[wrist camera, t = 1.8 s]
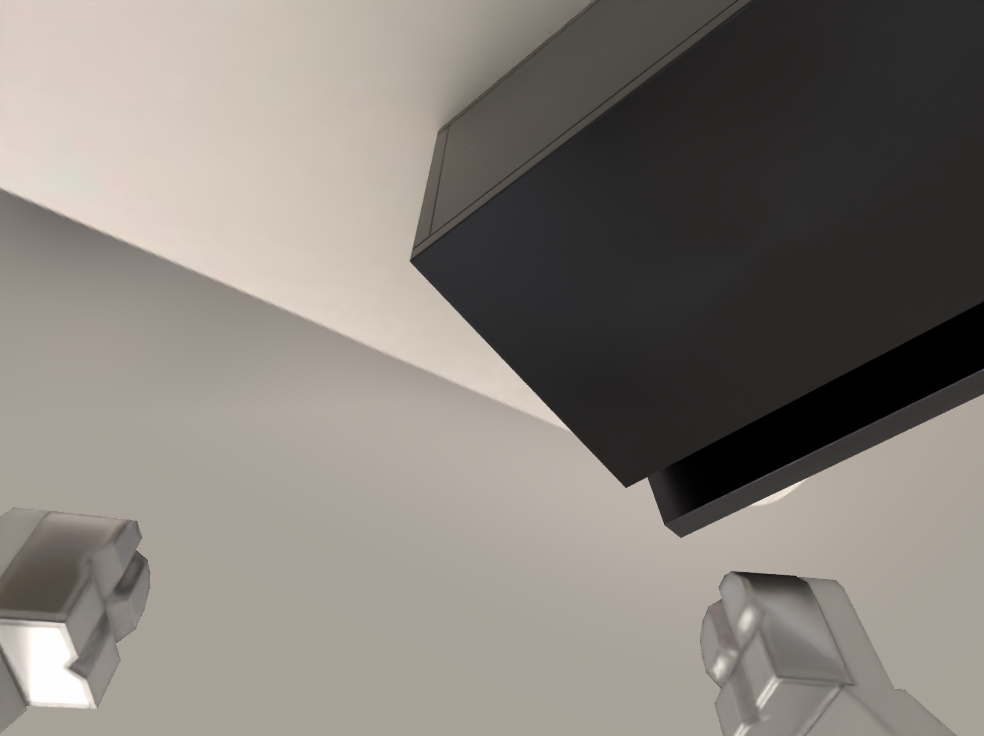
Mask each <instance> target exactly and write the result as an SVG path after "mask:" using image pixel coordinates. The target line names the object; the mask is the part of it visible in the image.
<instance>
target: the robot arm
mask: <svg viewBox="0 0 984 736" xmlns="http://www.w3.org/2000/svg"><path fill="white" fill-rule="evenodd" d="M141 539H142V536H141V532H140V529H139V526H138V523H137V521H133V520H126V519H117V518H108V517H100V516H90V515H82V514H73V513H64V512H55V511H44V510H34V509H24V508H13V509H11V510H9V511H8V512H6V513H5V514H3V515H2V516H1V517H0V733H1V732H2V731H3V730H5V728H7V727H8V726H9V725H10V724H12V723H13V722H14V721H15V720H16V719H17V718H18V717H19V716H20V715H22V714H23V713H24V712H25V711H26V710H27V708H26V706H43V707H69V708H93V709H97V708H98V706H99V704H100V702H101V700H102V697H103V695H104V693H105V691H106V689H107V687H108V685H109V683H110V681H111V678H112V677H113V675H114V672H115V670H116V669H117V666H118V664H119V662H120V656H119V653H118V649H117V646H116V643H117V642H119V641H120V640H121V639H123V638H124V637H125V636H127V635H128V634H130V633H131V632H132V631H133V630H135V629H136V627H137V625H138V622H139V620H140V617H141V616H142V613H143V611H144V609H145V605H146V600H147V597H148V593H149V589H150V569H149V565H148V560H147V559H146V558H145V557H143V556H142V555H141V554H140V553H139V552H138V551H136V548H137V546H138V545H139V543H140V541H141ZM719 591H720V594H721V597H722V599H721V600H719V601H717V602H716V603H714V604H712V605H711V606H709V607H708V609H707V611H706V614H705V616H704V618H703V621H702V627H701V637H700V643H701V651H702V658H703V662H704V666H705V670H706V673H707V674H708V675H709V676H710V677H711V678H712V679H713V681H714V682H715V683H716V684H717V685H718V686H719V687H720V688H721V690H720V692H719V694H718V697H717V699H716V701H715V707H716V711H717V715H718V718H719V722H720V726H721V729H722V733H723V736H956V735H955V734H954V733H953V732H952V731H951V730H950V729H949V728H947V727H946V726H945V725H944V724H943V723H942V722H941V721H940V720H938V719H937V718H936V717H935V716H934V715H933V714H932V713H930V712H929V711H928V710H927V709H926V708H925V707H924V706H923V705H921V704H920V703H919V702H918V701H917V700H916V699H915V698H914V697H912V696H911V695H910V694H909V693H908V692H907V691H906V690H901V689H894V687H893V685H892V683H891V681H890V679H889V677H888V675H887V673H886V671H885V669H884V667H883V665H882V663H881V661H880V659H879V657H878V655H877V653H876V651H875V649H874V647H873V645H872V643H871V641H870V639H869V637H868V636H867V633H866V631H865V629H864V627H863V626H862V624H861V621H860V619H859V617H858V616H857V613H856V611H855V609H854V608H853V605H852V603H851V602H850V599H849V598H848V595H847V594H846V592H845V590H844V588H843V587H842V586H841V585H840V584H839V583H838V582H837V581H836V580H828V579H817V578H804V577H797V576H790V575H776V574H762V573H749V572H735V571H731V572H729V573H728V574H727V575H725V576H724V578H723V580H722V581H721V583H720V585H719Z"/></svg>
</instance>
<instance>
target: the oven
mask: <svg viewBox="0 0 984 736" xmlns="http://www.w3.org/2000/svg"><path fill="white" fill-rule="evenodd" d="M410 262H411V263H412V264H413V265H414V266H415V267H416V268H417V270H418V271H419V272H420V273H421V274H422V275H423V276H424V277H425V278H426V279H427V280H428V281H429V282H430V283H431V284H432V285H433V286H434V287H435V288H436V289H437V290H438V292H439V293H440V294H441V295H442V296H443V297H444V298H445V299H446V300H447V301H448V302H449V303H450V304H451V305H452V306H453V307H454V308H455V309H456V310H457V311H458V313H459V314H460V315H461V316H462V317H463V318H464V319H465V320H466V321H467V322H468V323H469V324H470V325H471V326H472V327H473V328H474V329H475V330H476V331H477V332H478V333H479V335H480V336H481V337H482V338H483V339H484V340H485V341H486V342H487V343H488V344H489V345H490V346H491V347H492V348H493V349H494V350H495V351H496V352H497V353H498V354H499V356H500V357H501V358H502V359H503V360H504V361H505V362H506V363H507V364H508V365H509V366H510V367H511V368H512V369H513V370H514V371H515V372H516V373H517V374H518V375H519V376H520V378H521V379H522V380H523V381H524V382H525V383H526V384H527V385H528V386H529V387H530V388H531V389H532V390H533V391H534V392H535V393H536V394H537V395H538V396H539V397H540V399H541V400H542V401H543V402H544V403H545V404H546V405H547V406H548V407H549V408H550V409H551V410H552V411H553V412H554V413H555V414H556V415H557V416H558V417H559V418H560V420H561V421H562V422H563V423H564V424H565V425H566V426H567V427H568V428H569V429H570V430H571V431H572V432H573V433H574V434H575V435H576V436H577V437H578V438H579V439H580V440H581V442H582V443H583V444H584V445H585V446H587V448H588V449H589V450H590V451H591V452H592V453H593V454H594V455H595V456H596V457H597V458H598V459H599V460H600V461H601V463H603V465H604V466H605V467H606V468H607V469H608V470H609V471H610V472H611V473H612V474H613V475H614V476H615V477H616V478H617V479H618V480H619V481H620V482H621V483H622V485H623V486H625V488H627V487H629V486H631V485H633V484H635V483H636V482H639V481H641V480H642V479H645V478H646V477H648V476H650V475H652V474H654V473H656V472H658V471H660V470H662V469H664V468H666V467H668V466H669V465H671V464H673V463H675V462H677V461H679V460H681V459H683V458H685V457H687V456H689V455H691V454H692V453H694V452H696V451H698V450H700V449H702V448H704V447H706V446H708V445H710V444H712V443H714V442H715V441H717V440H719V439H721V438H723V437H725V436H727V435H729V434H731V433H733V432H735V431H737V430H738V429H740V428H742V427H744V426H746V425H748V424H750V423H752V422H754V421H756V420H758V419H760V418H761V417H763V416H765V415H767V414H769V413H771V412H773V411H775V410H777V409H779V408H781V407H783V406H784V405H786V404H788V403H790V402H792V401H794V400H796V399H798V398H800V397H802V396H804V395H806V394H807V393H809V392H811V391H813V390H815V389H817V388H819V387H821V386H823V385H825V384H827V383H829V382H830V381H832V380H834V379H836V378H838V377H840V376H842V375H844V374H846V373H848V372H850V371H852V370H853V369H855V368H857V367H859V366H861V365H863V364H865V363H867V362H869V361H871V360H873V359H875V358H876V357H878V356H880V355H882V354H884V353H886V352H888V351H890V350H892V349H894V348H896V347H898V346H899V345H901V344H903V343H905V342H907V341H909V340H911V339H913V338H915V337H917V336H919V335H921V334H922V333H924V332H926V331H928V330H930V329H932V328H934V327H936V326H938V325H940V324H942V323H944V322H945V321H947V320H949V319H951V318H953V317H955V316H957V315H959V314H961V313H963V312H965V311H967V310H968V309H970V308H972V307H974V306H976V305H978V304H980V303H982V302H984V0H594V1H593V2H592V3H591V4H590V5H588V6H587V7H586V8H585V9H584V10H582V11H581V12H580V13H579V14H578V15H576V16H575V17H574V18H573V19H572V20H570V21H569V22H568V23H567V24H566V25H564V26H563V27H562V28H561V29H560V30H558V31H557V32H556V33H555V34H554V35H552V36H551V37H550V38H549V39H548V40H546V41H545V42H544V43H543V44H542V45H541V46H539V47H538V48H537V49H536V50H535V51H533V52H532V53H531V54H530V55H529V56H527V57H526V58H525V59H524V60H523V61H521V62H520V63H519V64H518V65H517V66H515V67H514V68H513V69H512V70H511V71H509V72H508V73H507V74H506V75H505V76H503V77H502V78H501V79H500V80H499V81H497V82H496V83H495V84H494V85H493V86H491V87H490V88H489V89H488V90H487V91H485V92H484V93H483V94H482V95H481V96H479V97H478V98H477V99H476V100H475V101H474V102H472V103H471V104H470V105H469V106H468V107H466V108H465V109H464V110H463V111H462V112H460V113H459V114H458V115H457V116H456V117H454V118H453V119H452V120H451V121H450V122H448V123H447V124H446V125H445V126H444V127H442V128H441V129H440V130H439V131H438V134H437V139H436V143H435V148H434V153H433V157H432V162H431V166H430V171H429V176H428V180H427V185H426V189H425V194H424V199H423V203H422V208H421V213H420V217H419V222H418V226H417V231H416V236H415V240H414V245H413V249H412V253H411V258H410Z"/></svg>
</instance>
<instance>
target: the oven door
mask: <svg viewBox="0 0 984 736" xmlns="http://www.w3.org/2000/svg"><path fill="white" fill-rule="evenodd" d="M983 394H984V302H982V303H980V304H978V305H976V306H974V307H972V308H970V309H968V310H967V311H965V312H963V313H961V314H959V315H957V316H955V317H953V318H951V319H949V320H947V321H945V322H944V323H942V324H940V325H938V326H936V327H934V328H932V329H930V330H928V331H926V332H924V333H922V334H921V335H919V336H917V337H915V338H913V339H911V340H909V341H907V342H905V343H903V344H901V345H899V346H898V347H896V348H894V349H892V350H890V351H888V352H886V353H884V354H882V355H880V356H878V357H876V358H875V359H873V360H871V361H869V362H867V363H865V364H863V365H861V366H859V367H857V368H855V369H853V370H852V371H850V372H848V373H846V374H844V375H842V376H840V377H838V378H836V379H834V380H832V381H830V382H829V383H827V384H825V385H823V386H821V387H819V388H817V389H815V390H813V391H811V392H809V393H807V394H806V395H804V396H802V397H800V398H798V399H796V400H794V401H792V402H790V403H788V404H786V405H784V406H783V407H781V408H779V409H777V410H775V411H773V412H771V413H769V414H767V415H765V416H763V417H761V418H760V419H758V420H756V421H754V422H752V423H750V424H748V425H746V426H744V427H742V428H740V429H738V430H737V431H735V432H733V433H731V434H729V435H727V436H725V437H723V438H721V439H719V440H717V441H715V442H714V443H712V444H710V445H708V446H706V447H704V448H702V449H700V450H698V451H696V452H694V453H692V454H691V455H689V456H687V457H685V458H683V459H681V460H679V461H677V462H675V463H673V464H671V465H669V466H668V467H666V468H664V469H662V470H660V471H658V472H656V473H654V474H652V475H650V476H648V480H649V483H650V486H651V488H652V491H653V494H654V497H655V500H656V502H657V505H658V508H659V511H660V514H661V516H662V519H663V522H664V525H665V526H666V527H668V528H669V529H670V530H671V531H673V532H674V533H675V534H676V535H678V536H679V537H680V538H682V537H684V536H686V535H688V534H690V533H692V532H694V531H696V530H698V529H701V528H703V527H705V526H707V525H709V524H711V523H713V522H715V521H717V520H720V519H722V518H724V517H726V516H728V515H730V514H732V513H734V512H736V511H738V510H740V509H743V508H745V507H747V506H749V505H751V504H753V503H755V502H757V501H760V500H762V499H764V498H766V497H768V496H770V495H772V494H774V493H776V492H778V491H781V490H783V489H785V488H787V487H789V486H791V485H793V484H795V483H797V482H799V481H802V480H804V479H806V478H808V477H810V476H812V475H814V474H816V473H818V472H821V471H823V470H825V469H827V468H829V467H831V466H833V465H835V464H837V463H839V462H842V461H844V460H846V459H848V458H850V457H852V456H854V455H856V454H858V453H860V452H862V451H865V450H867V449H869V448H871V447H873V446H875V445H877V444H879V443H882V442H884V441H886V440H887V439H890V438H892V437H894V436H896V435H898V434H900V433H902V432H905V431H907V430H909V429H911V428H913V427H915V426H917V425H919V424H921V423H924V422H926V421H928V420H930V419H932V418H934V417H936V416H938V415H940V414H942V413H945V412H947V411H949V410H951V409H953V408H955V407H957V406H959V405H961V404H964V403H966V402H968V401H970V400H972V399H974V398H976V397H978V396H980V395H983Z"/></svg>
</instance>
